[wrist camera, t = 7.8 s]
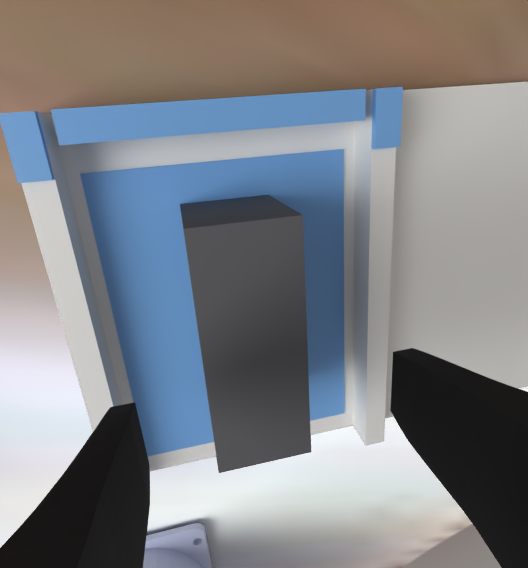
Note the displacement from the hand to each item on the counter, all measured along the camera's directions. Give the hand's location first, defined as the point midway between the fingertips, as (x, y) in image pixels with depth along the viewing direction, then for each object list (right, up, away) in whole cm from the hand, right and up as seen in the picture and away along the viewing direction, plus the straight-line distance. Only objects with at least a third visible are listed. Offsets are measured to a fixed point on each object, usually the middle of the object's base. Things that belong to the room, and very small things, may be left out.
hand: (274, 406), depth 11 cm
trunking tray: (+4, +4, +8) cm, 10 cm away
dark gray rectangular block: (-1, +2, +6) cm, 7 cm away
